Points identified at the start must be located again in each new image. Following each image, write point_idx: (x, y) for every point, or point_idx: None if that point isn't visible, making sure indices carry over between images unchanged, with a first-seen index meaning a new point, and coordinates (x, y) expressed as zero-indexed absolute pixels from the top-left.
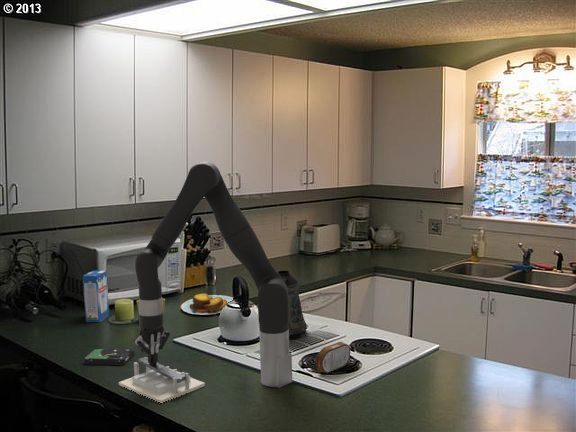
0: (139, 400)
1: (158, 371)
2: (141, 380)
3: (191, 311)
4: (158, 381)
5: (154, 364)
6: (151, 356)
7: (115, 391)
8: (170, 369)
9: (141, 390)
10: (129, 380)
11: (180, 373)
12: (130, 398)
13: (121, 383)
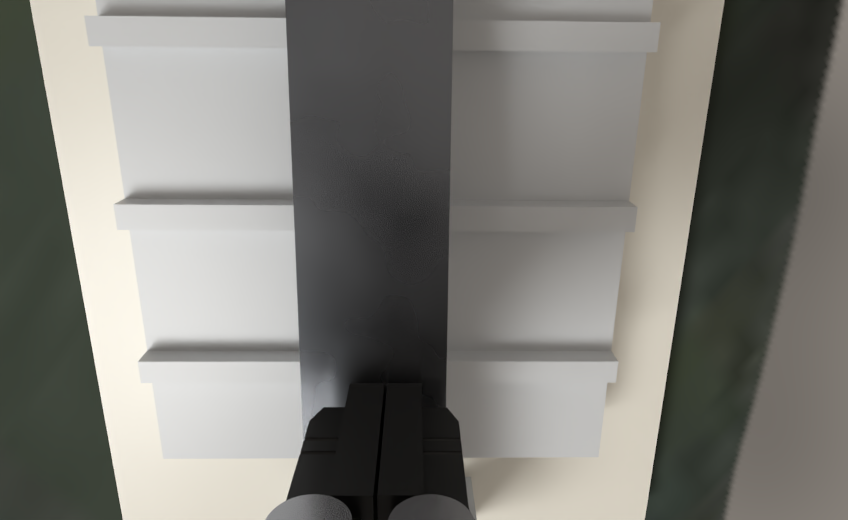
0: (794, 47)
1: (449, 201)
2: (612, 298)
3: None
4: (559, 43)
5: (393, 384)
6: (437, 488)
7: (749, 415)
8: (292, 84)
9: (667, 187)
10: (557, 483)
11: (156, 33)
12: (801, 170)
13: (649, 482)
